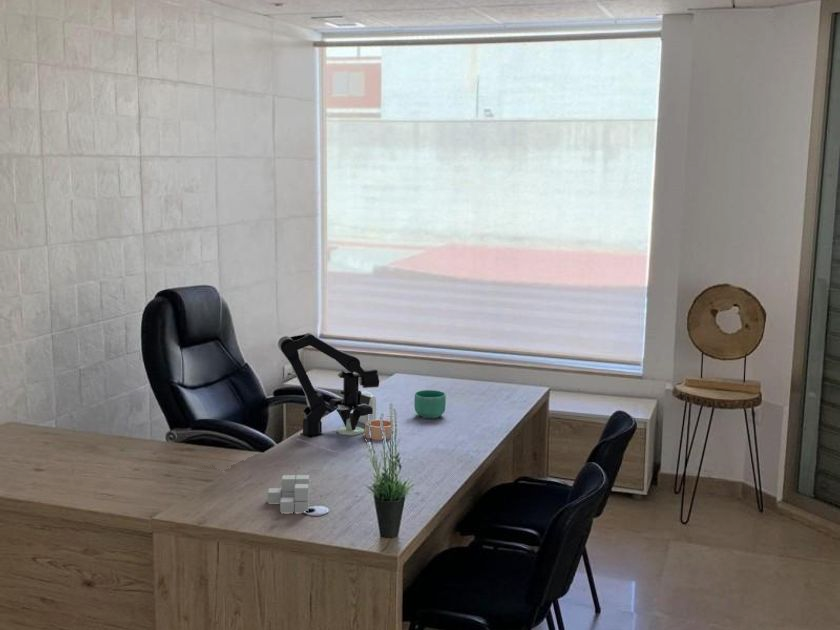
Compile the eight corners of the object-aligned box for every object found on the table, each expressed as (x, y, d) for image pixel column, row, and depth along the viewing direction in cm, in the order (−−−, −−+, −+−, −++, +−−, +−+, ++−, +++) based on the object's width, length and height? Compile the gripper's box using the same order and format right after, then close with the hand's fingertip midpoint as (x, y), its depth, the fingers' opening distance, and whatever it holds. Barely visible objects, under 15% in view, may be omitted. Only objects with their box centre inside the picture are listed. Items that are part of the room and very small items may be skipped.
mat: (349, 438, 351) (349, 437, 351) (331, 432, 357) (331, 431, 357) (369, 433, 358) (369, 432, 358) (351, 427, 365) (351, 426, 365)
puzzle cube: (268, 500, 284) (268, 475, 282) (309, 500, 285) (309, 474, 284) (266, 515, 272) (265, 488, 271) (308, 514, 273) (308, 488, 272)
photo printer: (353, 420, 375) (353, 390, 373) (362, 419, 378) (362, 388, 376) (368, 426, 367) (369, 395, 365) (377, 424, 370) (378, 393, 368)
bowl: (379, 442, 346) (379, 429, 345) (359, 436, 353) (359, 423, 353) (401, 436, 354) (401, 423, 353) (380, 430, 361) (380, 418, 360)
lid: (349, 437, 351) (349, 424, 350) (331, 431, 357) (331, 419, 357) (369, 432, 358) (369, 419, 357) (351, 426, 365) (351, 414, 364)
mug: (440, 421, 376) (440, 398, 375) (410, 418, 380) (410, 395, 379) (451, 411, 392) (451, 389, 391) (422, 409, 396) (422, 386, 394)
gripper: (383, 389, 354) (383, 430, 357) (350, 381, 367) (350, 420, 369) (361, 394, 346) (361, 435, 349) (328, 385, 359) (328, 425, 362)
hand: (350, 428), depth 357 cm, fingers closed on lid, 3 cm apart
